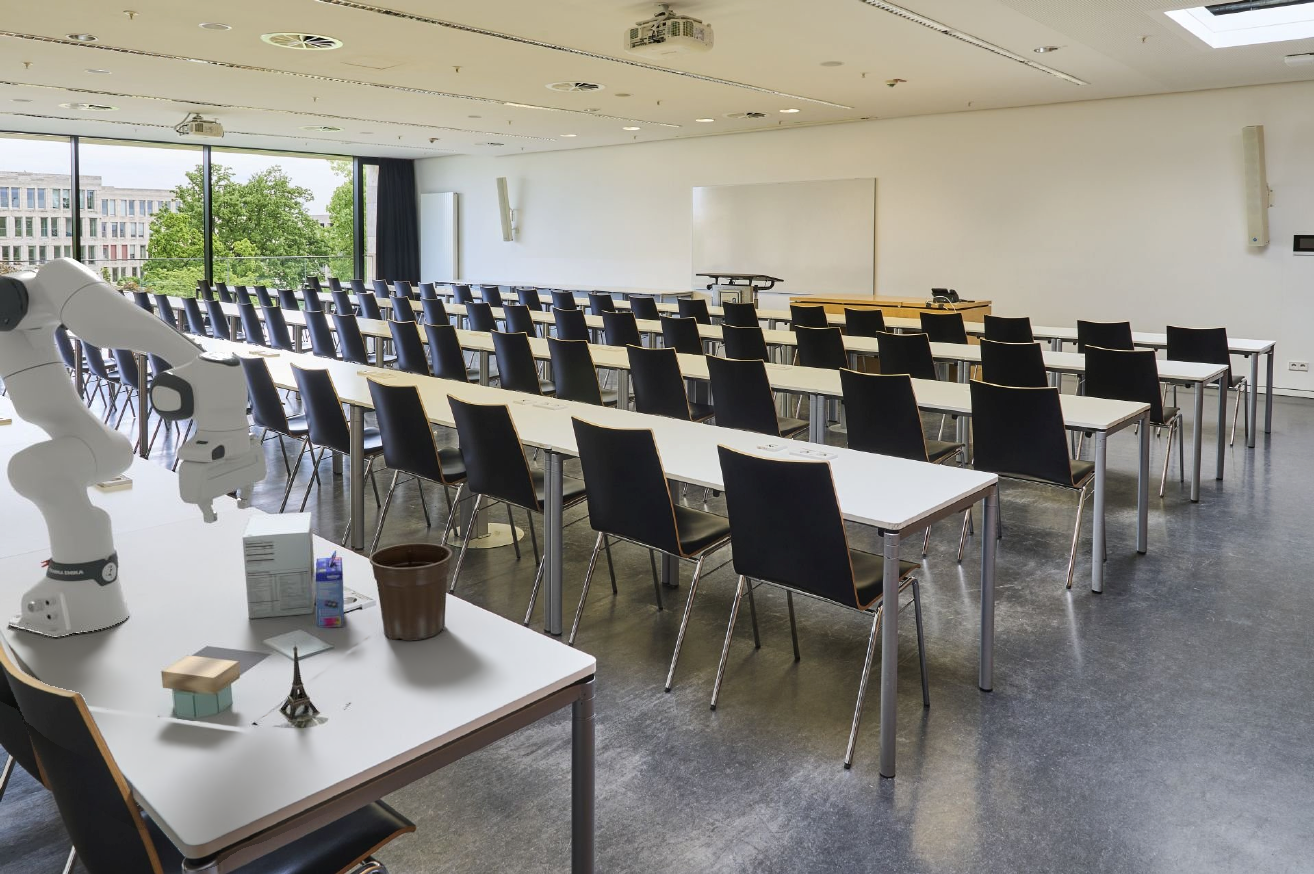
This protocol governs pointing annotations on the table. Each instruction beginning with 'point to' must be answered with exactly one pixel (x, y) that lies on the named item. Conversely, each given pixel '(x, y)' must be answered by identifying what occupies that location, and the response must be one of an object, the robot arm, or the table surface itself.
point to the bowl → (200, 702)
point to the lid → (200, 674)
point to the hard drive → (297, 644)
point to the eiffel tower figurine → (299, 704)
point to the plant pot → (412, 588)
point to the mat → (233, 656)
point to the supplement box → (279, 565)
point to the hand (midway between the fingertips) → (227, 514)
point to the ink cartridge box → (329, 592)
